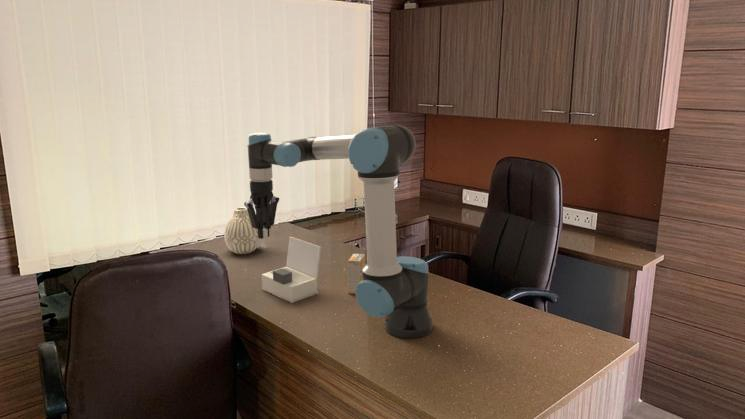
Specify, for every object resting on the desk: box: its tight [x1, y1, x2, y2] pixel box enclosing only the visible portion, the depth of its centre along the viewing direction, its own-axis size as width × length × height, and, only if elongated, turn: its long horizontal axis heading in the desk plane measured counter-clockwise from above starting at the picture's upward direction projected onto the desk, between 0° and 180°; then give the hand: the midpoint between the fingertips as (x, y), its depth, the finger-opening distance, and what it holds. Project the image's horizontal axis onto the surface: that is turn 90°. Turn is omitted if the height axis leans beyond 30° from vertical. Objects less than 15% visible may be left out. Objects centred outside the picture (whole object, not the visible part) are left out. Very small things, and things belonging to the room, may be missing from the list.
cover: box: [285, 236, 322, 279], centre depth 210 cm, size 18×12×1 cm
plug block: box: [272, 267, 292, 285], centre depth 201 cm, size 6×4×4 cm, turn 46°
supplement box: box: [347, 253, 366, 295], centre depth 207 cm, size 8×5×13 cm, turn 168°
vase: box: [223, 206, 260, 255], centre depth 250 cm, size 16×16×20 cm
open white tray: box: [261, 266, 319, 304], centre depth 207 cm, size 18×12×6 cm, turn 46°
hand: (264, 246), depth 193 cm, fingers closed
